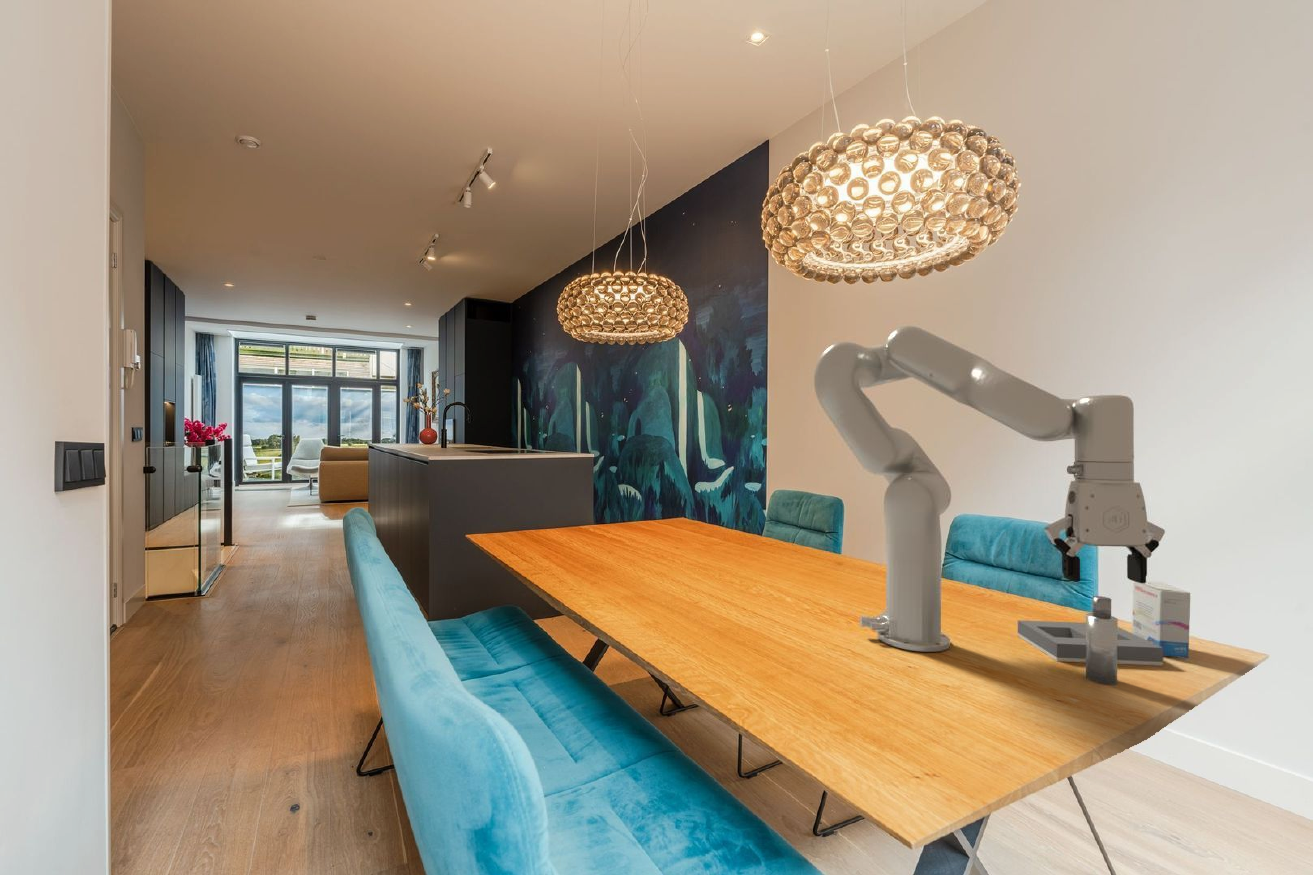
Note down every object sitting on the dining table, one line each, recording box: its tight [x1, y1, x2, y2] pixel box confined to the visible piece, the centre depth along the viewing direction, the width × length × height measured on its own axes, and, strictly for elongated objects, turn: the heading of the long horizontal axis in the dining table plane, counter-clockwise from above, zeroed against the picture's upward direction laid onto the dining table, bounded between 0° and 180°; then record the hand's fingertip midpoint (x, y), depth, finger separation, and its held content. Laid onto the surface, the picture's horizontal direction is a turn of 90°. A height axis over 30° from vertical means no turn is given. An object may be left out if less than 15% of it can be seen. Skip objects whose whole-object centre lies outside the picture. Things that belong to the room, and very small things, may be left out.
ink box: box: [1131, 580, 1191, 659], centre depth 108 cm, size 9×5×12 cm, turn 168°
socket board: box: [1017, 620, 1164, 666], centre depth 107 cm, size 17×13×3 cm
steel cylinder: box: [1085, 595, 1119, 686], centre depth 94 cm, size 4×4×13 cm
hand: (1103, 580), depth 93 cm, fingers open, 9 cm apart
